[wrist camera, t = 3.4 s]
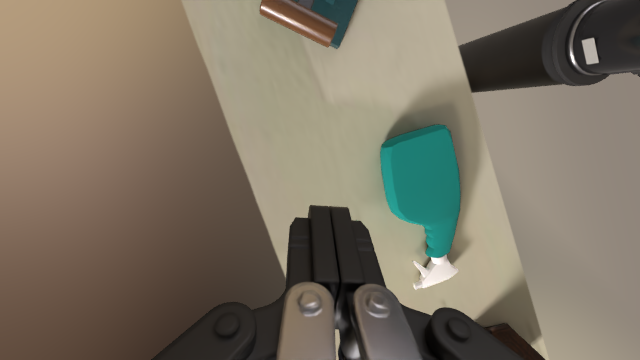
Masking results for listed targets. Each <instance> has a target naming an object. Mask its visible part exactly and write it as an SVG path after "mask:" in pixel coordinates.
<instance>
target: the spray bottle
mask: <svg viewBox="0 0 640 360" xmlns="http://www.w3.org/2000/svg"><path fill="white" fill-rule="evenodd" d="M380 157H381V170H382V176H383V182H384V188H385V194H386V199H387V202H388V205H389V208H390V210H391V212H392V213H393V214H395V215H396V216H397V217H398V218H399V219H402V220H404V221H407V222H409V223H414V224H419V225H423V226H424V227H425V233H426V235H427V237H426V242H427V244H428V248H427V250H426V255H427V256H429V257H431V260H430V262H429V263H428V265H427V267H426V268H425V267H423V266H421V265H420V264H419V263H417V262H416V261H414V260H413V261H412V262H413V263H414V264H415V265H416V266H417V268H418V269H419V270H420V272H421V275H420V278H419V279H420V280H419V281H417V282H415V283H413V286H414V288H415V289H419V288H421V287H423V288H426V287H429V286H431V285H434V284H437V283H439V282H442V281H445V280H448V279H450V278H451V277H452V276H453V275H455V274H456V273H457V272H458V271H459V270H458V269H457V268H456V267H455V266H454V265H451V264H450V262H449V260H448V259H447V253H449V252H450V249H451V245H452V242H453V238H454V235H455V230H456V225H457V220H458V215H459V211H460V178H459V168H458V164H457V160H456V155H455V151H454V146H453V142H452V137H451V133H450V131H449V129H448V128H447V127H446V126H445V125H439V124H438V125H432V126H429V127H425V128H422V129H419V130H415V131H412V132H408V133H405V134H401V135H399V136H396V137H394V138H392V139H389V140H387V141H385V142H384V143H383V144H382V146H381V151H380Z"/></svg>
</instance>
